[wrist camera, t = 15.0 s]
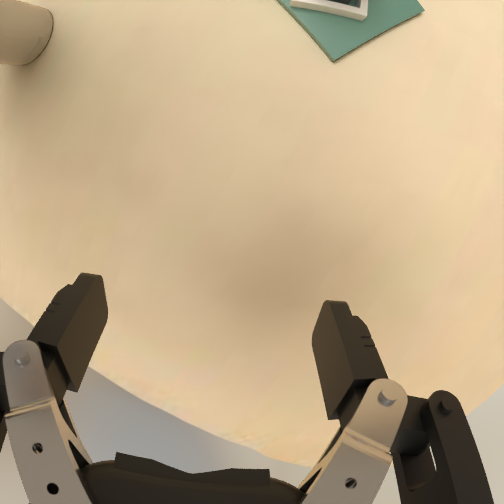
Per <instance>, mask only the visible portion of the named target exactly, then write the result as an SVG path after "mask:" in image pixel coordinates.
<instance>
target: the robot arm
mask: <svg viewBox="0 0 504 504" xmlns="http://www.w3.org/2000/svg"><path fill="white" fill-rule="evenodd" d="M52 26H53V20H52V15H51V13H50V12H49V11H48V10H47V9H45V8H41V7H38V6H35V5H31V4H28V3H25V2H21V1H17V0H0V64H9V65H25V64H28V63H30V62H31V61H33V60H34V59H35V58H36V57H38V55H39V54H40V53H41V52H42V50H43V49H44V47H45V46H46V44H47V42H48V40H49V38H50V35H51V31H52ZM107 318H108V306H107V301H106V295H105V289H104V283H103V278H102V276H101V275H95V274H88V273H81V274H80V275H79V276H78V278H77V279H76V281H75V282H74V283H73V285H70V284H68V285H67V286H65V287H64V288H62V289H61V290H60V291H58V292H57V294H56V295H55V297H54V298H53V300H52V301H51V303H50V304H49V305H48V307H47V308H46V311H44V313H43V315H42V316H41V318H40V319H39V321H38V322H37V324H36V325H35V327H34V329H33V330H32V332H31V334H30V335H29V337H28V338H27V340H19V341H16V342H14V343H12V344H11V345H10V346H9V347H8V348H7V349H6V351H5V352H0V452H1V448H2V445H3V442H4V439H5V435H6V433H7V431H8V434H9V439H10V443H11V446H12V451H13V454H14V458H15V461H16V464H17V468H18V471H19V474H20V477H21V480H22V483H23V486H24V489H25V491H26V494H27V497H28V499H29V502H30V503H29V504H372V503H373V500H374V499H375V497H376V494H377V493H378V491H379V489H380V486H381V484H382V482H383V480H384V478H385V476H386V474H387V471H388V469H389V467H390V464H391V462H392V459H393V464H394V469H395V474H396V479H397V484H398V489H399V494H400V500H401V504H494V502H493V498H492V494H491V491H490V487H489V484H488V481H487V477H486V473H485V470H484V467H483V464H482V461H481V458H480V455H479V452H478V449H477V446H476V443H475V440H474V438H473V435H472V432H471V429H470V427H469V424H468V422H467V419H466V416H465V414H464V411H463V409H462V406H461V404H460V402H459V400H458V399H457V398H456V397H455V396H454V395H453V394H451V393H450V392H448V391H444V390H439V391H436V392H434V393H433V394H432V395H431V396H430V397H429V398H428V399H424V398H418V397H413V396H409V395H407V394H406V392H405V390H404V389H403V387H402V386H401V385H399V384H398V383H397V382H395V381H393V380H390V379H388V376H387V374H386V371H385V369H384V366H383V364H382V361H381V359H380V356H379V354H378V351H377V349H376V347H375V344H374V342H373V339H371V335H370V332H369V330H368V328H367V325H366V324H365V323H364V322H363V321H362V320H361V319H360V318H359V317H358V316H352V314H351V311H350V309H349V306H348V304H347V303H346V302H344V301H329V300H326V301H325V302H324V303H323V306H322V308H321V311H320V314H319V317H318V320H317V322H316V325H315V328H314V331H313V335H312V347H313V352H314V356H315V361H316V365H317V370H318V374H319V379H320V384H321V388H322V393H323V398H324V402H325V407H326V412H327V417H328V420H334V419H339V421H340V425H341V426H340V427H339V428H338V430H337V432H336V433H335V435H334V437H333V438H332V440H331V441H330V443H329V445H328V446H327V448H326V449H325V451H324V452H323V454H322V455H321V457H320V459H319V460H318V462H317V463H316V465H315V466H314V467H313V469H312V470H311V471H310V473H309V474H308V475H307V477H306V478H305V479H304V480H303V482H302V483H301V484H300V485H299V487H298V488H296V487H295V486H293V485H291V484H289V483H286V482H284V481H281V480H278V479H275V478H271V477H270V472H269V469H234V468H231V469H225V470H219V471H212V472H204V473H196V474H191V473H186V472H183V471H181V470H178V469H175V468H173V467H170V466H167V465H164V464H162V463H160V462H157V461H155V460H152V459H147V458H142V457H136V456H132V455H127V454H123V453H118V452H116V457H115V460H109V461H101V462H96V463H93V462H92V460H91V458H90V456H89V455H88V453H87V451H86V449H85V448H84V446H83V444H82V442H81V440H80V437H79V435H78V433H77V430H76V428H75V425H74V423H73V420H72V418H71V415H70V412H69V409H68V407H67V404H66V401H65V399H64V395H65V392H66V390H70V391H74V392H78V389H79V387H80V384H81V382H82V379H83V377H84V374H85V372H86V369H87V367H88V364H89V362H90V360H91V357H92V355H93V352H94V350H95V348H96V345H97V343H98V341H99V339H100V336H101V334H102V332H103V330H104V327H105V325H106V322H107ZM430 446H431V449H432V452H433V456H434V459H435V463H436V470H435V466H434V463H433V459H432V455H431V452H430V448H429V447H430ZM389 452H391V454H389Z"/></svg>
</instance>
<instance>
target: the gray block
mask: <svg viewBox="0 0 504 504" xmlns="http://www.w3.org/2000/svg"><path fill="white" fill-rule="evenodd" d="M330 1H335V2H339V3H344V4H349V3H350V2H351V0H330Z"/></svg>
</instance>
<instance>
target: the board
mask: <svg viewBox="0 0 504 504" xmlns="http://www.w3.org/2000/svg"><path fill="white" fill-rule="evenodd" d="M277 1H278V2H279V3H280V4H281V5H282V6H283V7H284V8H285V9H286V10H287V11H288V12H289V13H290V14H291V15H292V16H293V17H294V18H295V20H296V21H297V22H298V23H299V24H300V25H301V26H302V27H303V28H304V29H305V30H306V32H307V33H308V34H309V35H310V36H311V37H312V38H313V39H314V41H315V42H316V43H317V44H318V45H319V46H320V48H321V49H322V50H323V51H324V52H325V54H326V55H327V56H328V57H329V59H330V60H331V61H332V62H333V61H335V60H337V59H338V58H340V57H341V56H343V55H345V54H346V53H348V52H350V51H351V50H353V49H355V48H356V47H358V46H360V45H361V44H363V43H365V42H366V41H368V40H370V39H372V38H373V37H375V36H377V35H379V34H381V33H382V32H384V31H386V30H388V29H390V28H392V27H394V26H395V25H397V24H399V23H401V22H403V21H405V20H407V19H409V18H411V17H413V16H415V15H417V14H419V13H421V12H423V11H425V10H424V9H423V7H422V6H421V5H420V3H419V2H418V1H417V0H351V2H350V3H349V4H344V3H339V2H335V1H330V0H277Z"/></svg>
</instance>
